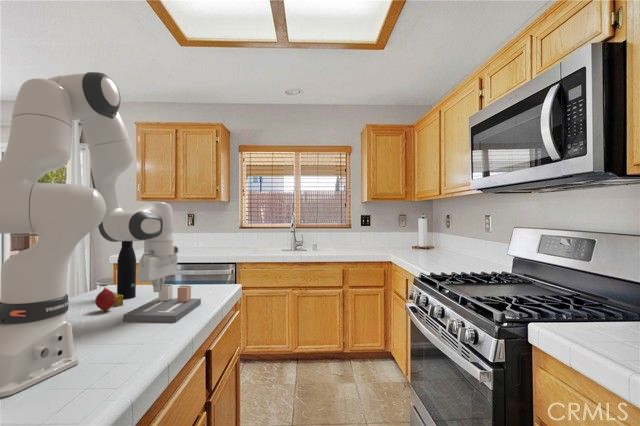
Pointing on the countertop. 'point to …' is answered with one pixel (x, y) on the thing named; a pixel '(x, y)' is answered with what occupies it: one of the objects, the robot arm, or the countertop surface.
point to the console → (161, 311)
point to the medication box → (118, 300)
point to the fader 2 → (184, 293)
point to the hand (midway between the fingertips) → (158, 291)
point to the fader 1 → (166, 293)
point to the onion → (105, 299)
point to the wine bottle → (126, 271)
